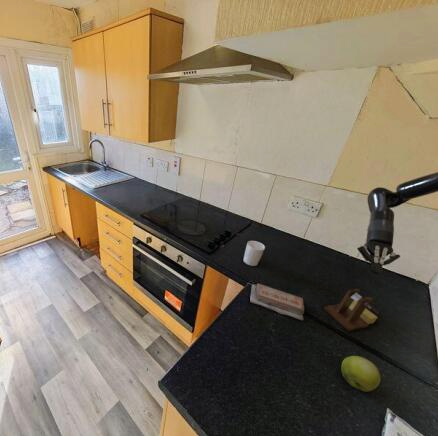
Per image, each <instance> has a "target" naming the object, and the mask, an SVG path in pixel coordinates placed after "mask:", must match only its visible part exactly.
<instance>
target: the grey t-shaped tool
mask: <svg viewBox="0 0 438 436" xmlns="http://www.w3.org/2000/svg"><path fill="white" fill-rule="evenodd" d="M351 298H352V299H354V301H356V302H358V301H359V299H361V298H364V297H363V296H362V295H360V294H359V293H358V294H357V293H355V294H353V295H352V296H351ZM366 309H367V310H369V311H370V312H371V313H373V314H374V315H375V316H377V317H378V316H380V315H381V314H382V312H381V311H380V310H379V309H377V308H376V307H374V306H373V305H371V304H370V303H369V304H368V306H367V307H366Z"/></svg>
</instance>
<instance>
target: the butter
mask: <svg viewBox="0 0 438 436" xmlns="http://www.w3.org/2000/svg"><path fill="white" fill-rule="evenodd" d="M356 304H357V302H356V301H355V300H354V301H353V302H352V304H351V305H350V307H349V309H350V310H351V311H352V310H353V308H354V307H355V305H356ZM360 318H361V319H363V320H364V321H365V322H366V323H368V324H369V325H370V324H374V323H375V322H376V320H377V319H378V316H377V315H376V314H374V313H373V312H372V311H370V310H369V309H368V308H366V309H365V310H364V312H363V313H362V314H361V316H360Z"/></svg>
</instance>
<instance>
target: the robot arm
mask: <svg viewBox="0 0 438 436" xmlns="http://www.w3.org/2000/svg"><path fill="white" fill-rule="evenodd" d="M434 193H438V171H435V172H432V173H429V174H426V175H422V176H418V177H416V178H411V179H409V180H407V181H404V182H401V183H399V184H398V185H397V186H396V188H395V191H392V190H390V189H388V188H386V187H382V186H381V187H380V186H378V187H375V188H372V189H371V190H370V191H369V193H368V194H367V197H366V199H367V206H368V210H369V213H370V215H369V222H368V226H367V229H366V230H367V232H366V239H365V240H366V241H365V243H364V245H360V246H358V247H357V248H356V249H357V251H358V252H359V254H360V255H361V256H362V258H363V259H364V260H365V261H366V262H368V263H370V270H369V271H371V273H372V274H375V275H379V274H380V273H382V272H383V266H388V265H390V264H392V263H393V262H395V261H396V260H398V259H399V258H401V255H400V254H397V253H396V252H394V249H393V244H394V234H395V225H394V223H395V212H394V210H393V208H397V207H399V206H401V205H403V204H405V203H407V202H410V201H411V200H413V199H417V198H420V197H424V196H427V195H431V194H434ZM387 257H389V258H387ZM386 258H387V259H386Z"/></svg>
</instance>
